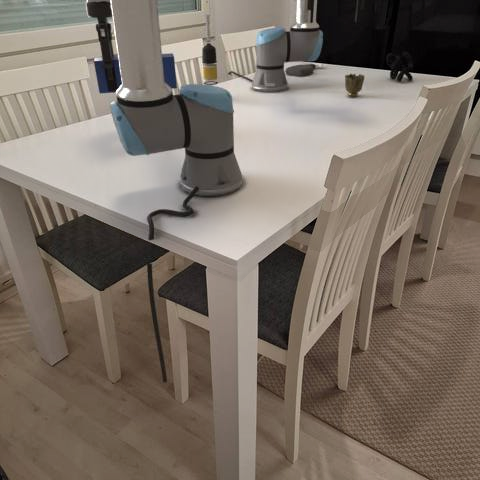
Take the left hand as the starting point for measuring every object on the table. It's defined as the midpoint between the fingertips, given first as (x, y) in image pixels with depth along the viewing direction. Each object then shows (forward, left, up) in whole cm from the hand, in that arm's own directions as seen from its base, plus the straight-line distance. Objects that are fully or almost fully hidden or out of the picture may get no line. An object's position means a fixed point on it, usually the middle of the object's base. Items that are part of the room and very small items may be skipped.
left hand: (113, 88), depth 133 cm
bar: (+4, -6, -1) cm, 7 cm away
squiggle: (+104, -79, -15) cm, 131 cm away
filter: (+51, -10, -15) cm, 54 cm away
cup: (+69, -63, -15) cm, 95 cm away
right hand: (+34, -59, +15) cm, 70 cm away
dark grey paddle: (+111, -35, -15) cm, 118 cm away
